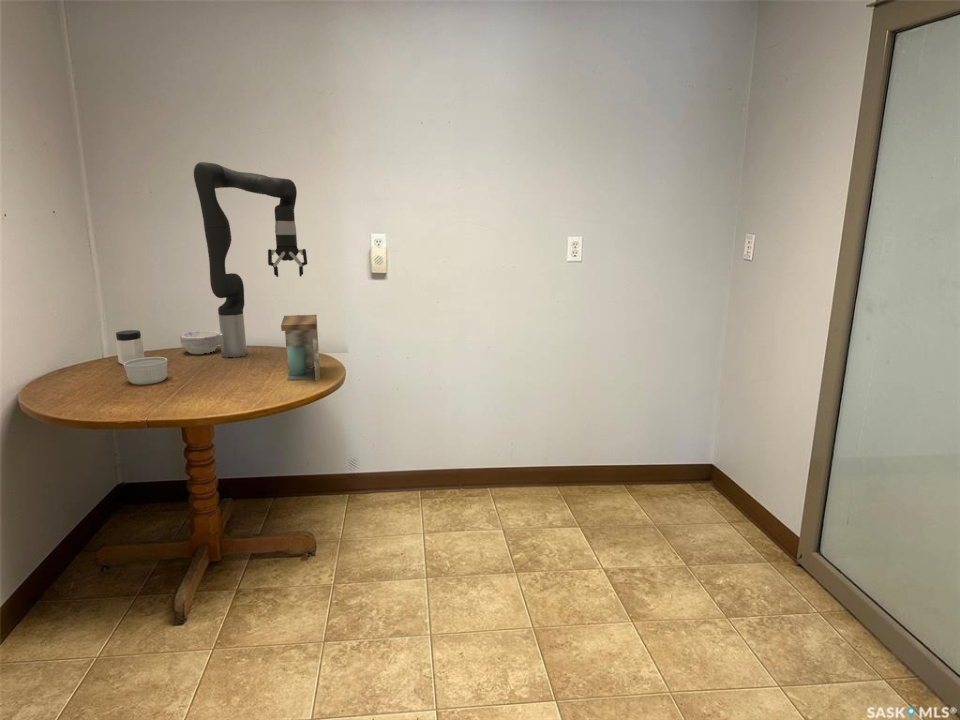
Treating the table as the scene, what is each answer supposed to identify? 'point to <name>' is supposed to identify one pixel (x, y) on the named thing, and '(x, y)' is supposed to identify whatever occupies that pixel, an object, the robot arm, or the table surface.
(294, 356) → the teal cylinder
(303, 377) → the mat
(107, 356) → the table surface
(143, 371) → the ramekin
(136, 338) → the jar
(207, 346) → the paper bowls
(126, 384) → the table surface
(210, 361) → the table surface
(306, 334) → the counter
